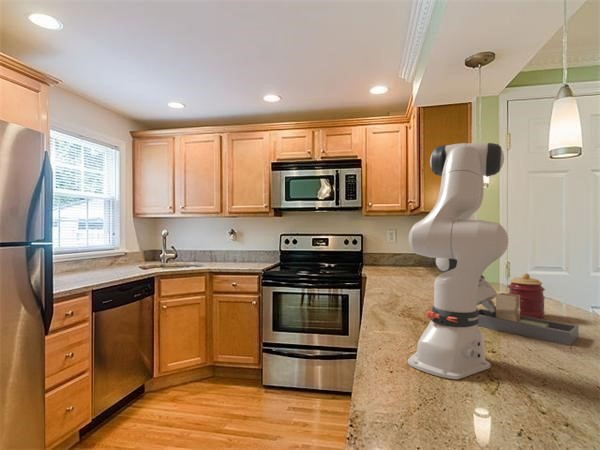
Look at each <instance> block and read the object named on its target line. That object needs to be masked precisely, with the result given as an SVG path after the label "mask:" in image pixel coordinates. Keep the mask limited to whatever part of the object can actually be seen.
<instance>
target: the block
mask: <svg viewBox="0 0 600 450" xmlns="http://www.w3.org/2000/svg"><path fill="white" fill-rule="evenodd" d="M495 306H496V318H500V319H505V320H510V321H516V322H517V321H519V320H520V295H514V294H508V292H507V293H505V292H500V293H497V295H496V297H495Z"/></svg>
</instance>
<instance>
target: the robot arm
mask: <svg viewBox="0 0 600 450" xmlns="http://www.w3.org/2000/svg"><path fill="white" fill-rule="evenodd" d="M504 161H505V154H504V151H503V149H502V146H500V144H499V143H495V142H494V143H493V142H488V143H480V142H479V143H475V142H474V143H472V142H471V143H468V142H467V143H466V142H463V143H454V144H453V143H452V144H448V145H446V144H443V145H439V146H438V145H437V146H436V147H435V148H434V149H433V150H432V153H431V155H430V159H429V165H430V168H431V172H432V173H433V174H434V175H435V176H439V177H440V178H441V179H440V187H439V193H438V197H437V200H436V203H435V205H433V208H432V209H431V210H430V212H429V213H428V214H427V215H426V216H425V217H423V218H422V219H421V220H419V221H417V222H415V223H414V224H413V226H411V229H410V230H409V233H408V244H409V248H411V251H412V252H413V253H414V254H416V255H418V256H419V255H420V256H422V257H423V256H424V257H426V258H431V259H432V258H434V263H435V266H436V268H437V269H438V270H439V271H440V272H441V273H440V274H439V275H438V276H437V277H436V278H435V279H434V282H433V305H432V308H431V310H428V311H426V315H425V316H426V318H427V319H430V321H429V323H428V325H427V327H425V329H424V331H423V333H422V334H421V336H420V338H419V339H418V342H417V348H416V352H415V353H414V354H413V355H411V356H410V357H409V358H408V359H407V364H408V365H409V366H411V367H412V368H415V369H417V370H418V371H422V372H424V373H427V374H429V375H432V376H436V377H440V378H445V379H450V380H460V379H462V378H463V379H464V378H466V377H468V376H471V375H474V374H478V373H480V372H483V371H485V370H488V369H491V363H490V362H489V361H487V360H486V353H485V352H486V351H485V338H484V337H485V336H484V334H483V332H482V331H481V330H480V328H479V326H477V324H478V318H479V314H478V310H477V309H478V308H477V307H478V306H479V305H482V306H483V307H484V308H485V309H486V310H489V311H490V312H491V313H493V312H495V311H496V304H495V303H494V299H496V295H497V294H498V292H497V291H496V289H495V288H494V287H493V286H492V284H490V282H488V281H487V280H486V277H485V276H484V275H483V274H484V271H486V269H487V268H488V267H489V266H490V265H492V263H494V262H496V261H497V260H498V259H500V258H501V257H502V256H503V255H504V254H505V253H506V251H507V249H508V246H509V235H508V233H507V231H506V228H505V227H503V225H501V224H500V223H498V222H493V221H487V220H481V219H474V220H473V219H470V220H468V219H469V218H470V217H471V216H472V215H473V214H475V213H476V212H477V211H478V210H479V209H480V208H481V205H482V204H483V203H482V202H483V201H484V187H485V185H484V183H485V182H484V181H485V180H484V176H485V177H486V178H488V177H491V176H496V175H497V174H498V173H500V172H501V169H502V168H503V166H504Z"/></svg>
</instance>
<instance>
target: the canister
mask: <svg viewBox="0 0 600 450" xmlns="http://www.w3.org/2000/svg"><path fill="white" fill-rule="evenodd" d="M509 282H510V284H509V285H507V288H508V292H507V294H514V295H520V315H521V316H527V317H532V318H538V319H544V318H545V316H546V315H545V298H546V297H545V296H544V292H545V290H546V289H545V287H543V286H542V285H543V282H542V281H541V280H539V279H537V278H531V277H530V274H529V273H527V272H526V273H525V272H524V273H523V274H522V275H521V277H517V276H516V277H514V278H512V279H510V280H509Z"/></svg>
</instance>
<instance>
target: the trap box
mask: <svg viewBox="0 0 600 450" xmlns="http://www.w3.org/2000/svg"><path fill="white" fill-rule="evenodd" d="M477 310H478V314H479V318H478V324H477V326H478V327H480V328H484V329H491V330H495V331H499V332H503V333H508V334H514V335H518V336H523V337H528V338H533V339H537V340H542V341H547V342H552V343H556V344H560V345H565V346H571V345H573V344H574V343H575V342H576V341H577V340H578V338H579V329H580V328H579V327H580V325H577V324H572V323H566V322H560V321H555V320H549V319H544V318H543V319H538V318H532V317H527V316H521V315H520V320H519V321H517V322H516V321H510V320H505V319H500V318H496V311H495V312H493V313H491V312H490V311H489V310H488V309H487V308H485V309H484V308H482V307H481V308H477Z"/></svg>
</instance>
